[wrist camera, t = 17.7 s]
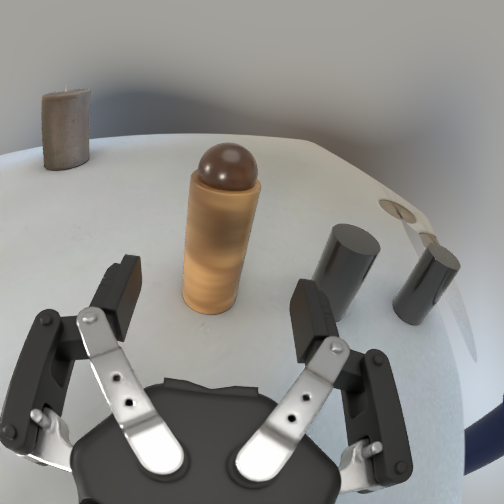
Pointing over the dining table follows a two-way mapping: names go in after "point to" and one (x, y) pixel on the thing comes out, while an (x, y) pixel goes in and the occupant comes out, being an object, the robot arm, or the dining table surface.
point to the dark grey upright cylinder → (426, 284)
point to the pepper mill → (218, 226)
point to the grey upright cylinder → (345, 266)
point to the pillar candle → (65, 128)
